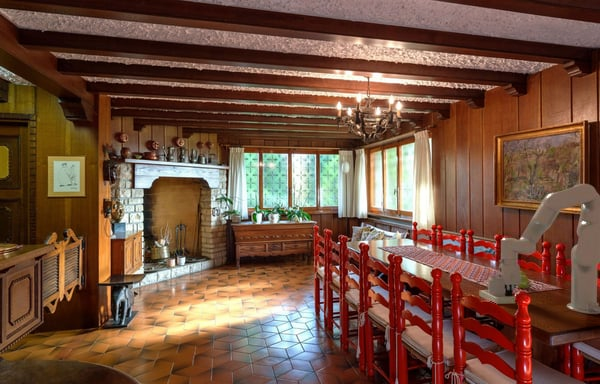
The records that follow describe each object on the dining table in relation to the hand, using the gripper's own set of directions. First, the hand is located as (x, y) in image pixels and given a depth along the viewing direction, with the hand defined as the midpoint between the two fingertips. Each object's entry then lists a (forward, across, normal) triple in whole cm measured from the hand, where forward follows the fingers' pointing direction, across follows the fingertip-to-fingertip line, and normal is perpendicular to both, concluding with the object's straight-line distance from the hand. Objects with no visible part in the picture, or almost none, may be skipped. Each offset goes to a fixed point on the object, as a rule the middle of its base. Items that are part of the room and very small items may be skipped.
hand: (508, 296), depth 185 cm
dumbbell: (+2, +25, +25) cm, 35 cm away
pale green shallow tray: (+1, -7, 0) cm, 7 cm away
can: (+1, -7, 0) cm, 7 cm away
